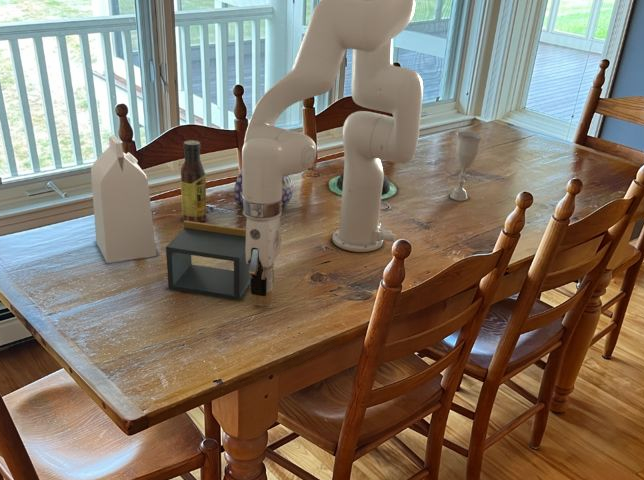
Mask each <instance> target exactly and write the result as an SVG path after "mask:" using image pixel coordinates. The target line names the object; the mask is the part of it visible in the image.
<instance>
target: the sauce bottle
mask: <svg viewBox="0 0 644 480" xmlns="http://www.w3.org/2000/svg"><path fill="white" fill-rule="evenodd" d="M183 150H184V162H183V164H182V165H181V167H180V198H181V199H180V200H181V214H182V219H183V221H192V222H199V223H202V222H204V221H205V220H206V217H207V185H206V183H207V182H206V181H207V180H206V172H205V169H204V166H203V164H202V162H201V151H200V150H201V142H200V141H198V140H185V141H184V142H183Z"/></svg>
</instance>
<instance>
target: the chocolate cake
mask: <svg viewBox="0 0 644 480" xmlns="http://www.w3.org/2000/svg"><path fill="white" fill-rule="evenodd" d="M382 161H383V160H381V159H380V162H381V164H382ZM383 173H384V180H383V187H382V196H381V200H384V199H389V198H391V197H393V196H394V195H396V193H397V186H395V184H394V183H392V182H391V181H389V179H388V178H387V175H386V174H385V172H384V171H383ZM343 177H344V172H343V173H342V174H341V175H338V176H336V177H333V178H331V179H330V180H329V181H328V188H329V189H330V191H331V192H333V193H335V194H337V195H339V196H342V190H343Z"/></svg>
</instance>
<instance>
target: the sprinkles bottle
mask: <svg viewBox="0 0 644 480" xmlns="http://www.w3.org/2000/svg"><path fill="white" fill-rule="evenodd" d="M258 263H261V262H260V261H258ZM257 269H258V270H259V271H260V272H261V270H262V268H260V267H257ZM265 278H267V294H266V296H259V295H252V294H251V299H250V302H251V303H252V305H254V306H257V307H267V306H270V305H271V304H272V303H273V301H274V300H273V286H274V285H273V284H274V263H273V264H272V265H271V266H270V267H269V268H266V269H265Z"/></svg>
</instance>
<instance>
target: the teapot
mask: <svg viewBox="0 0 644 480" xmlns="http://www.w3.org/2000/svg"><path fill="white" fill-rule="evenodd" d="M233 189H234V190H233V197H234V201H235V202H236V204H237V205H239V206H240V207H243V190H242V168H241V169H240V170H239V171H238V174H237V178H236V180H235V184H234V188H233ZM293 194H294V179H293V175H288V176H284V177H283V178H282V209H283V208H284V207H286V206H287V205H288V204H290V202H291V200H292V198H293Z"/></svg>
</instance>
